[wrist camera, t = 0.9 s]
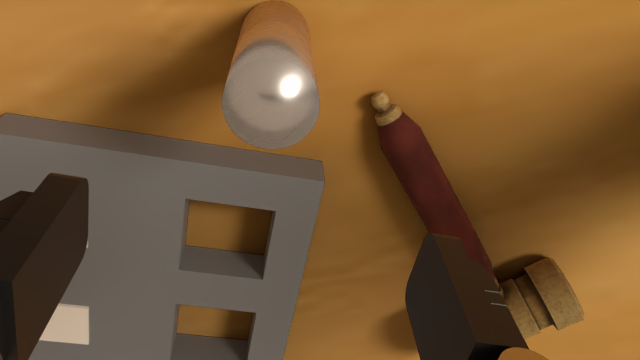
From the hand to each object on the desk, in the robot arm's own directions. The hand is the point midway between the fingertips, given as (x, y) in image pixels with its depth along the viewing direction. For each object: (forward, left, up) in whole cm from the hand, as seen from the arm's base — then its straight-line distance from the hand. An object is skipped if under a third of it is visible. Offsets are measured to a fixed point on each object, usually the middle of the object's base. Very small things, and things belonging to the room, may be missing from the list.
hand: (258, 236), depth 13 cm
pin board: (+5, +20, -18) cm, 27 cm away
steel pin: (0, 0, -18) cm, 18 cm away
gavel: (-13, +10, -19) cm, 25 cm away
